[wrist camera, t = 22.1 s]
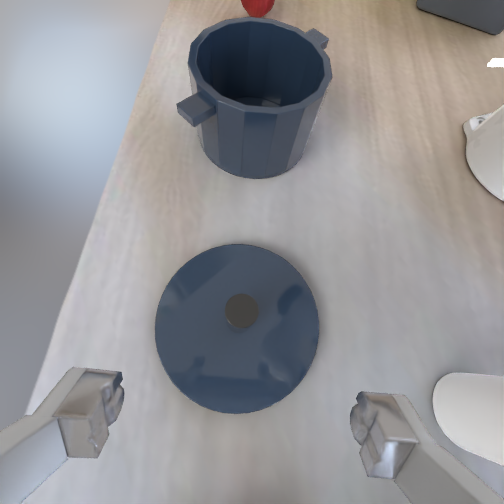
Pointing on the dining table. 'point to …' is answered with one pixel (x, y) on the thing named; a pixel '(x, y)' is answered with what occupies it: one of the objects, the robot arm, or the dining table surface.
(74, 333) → the dining table surface
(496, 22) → the storage bin
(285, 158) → the pot
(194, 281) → the lid
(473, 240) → the dining table surface
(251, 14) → the onion
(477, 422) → the can
